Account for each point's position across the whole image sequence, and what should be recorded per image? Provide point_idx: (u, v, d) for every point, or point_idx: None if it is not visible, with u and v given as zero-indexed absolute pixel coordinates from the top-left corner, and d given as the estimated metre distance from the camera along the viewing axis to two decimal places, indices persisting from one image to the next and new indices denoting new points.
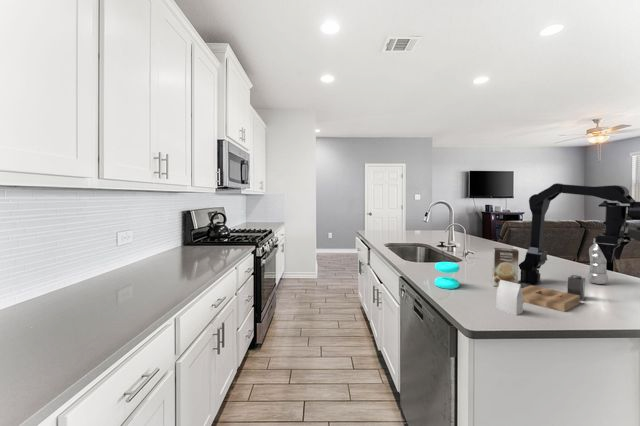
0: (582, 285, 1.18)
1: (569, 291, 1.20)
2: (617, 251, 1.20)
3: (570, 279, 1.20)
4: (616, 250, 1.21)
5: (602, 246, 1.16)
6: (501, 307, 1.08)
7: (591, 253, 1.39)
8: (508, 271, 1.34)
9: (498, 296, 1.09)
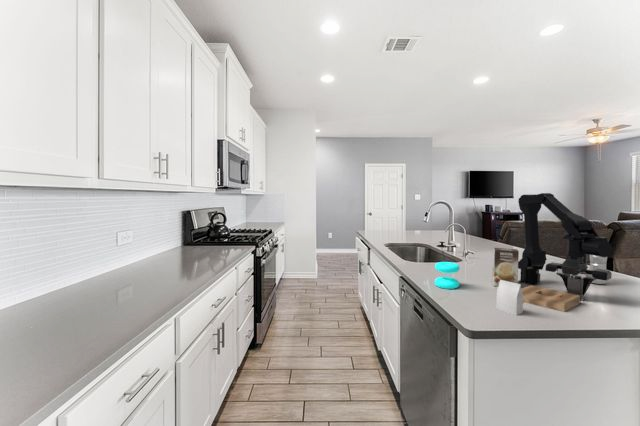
0: (582, 285, 1.18)
1: (569, 291, 1.20)
2: None
3: (570, 279, 1.20)
4: None
5: None
6: (501, 307, 1.08)
7: None
8: (508, 271, 1.34)
9: (498, 296, 1.09)
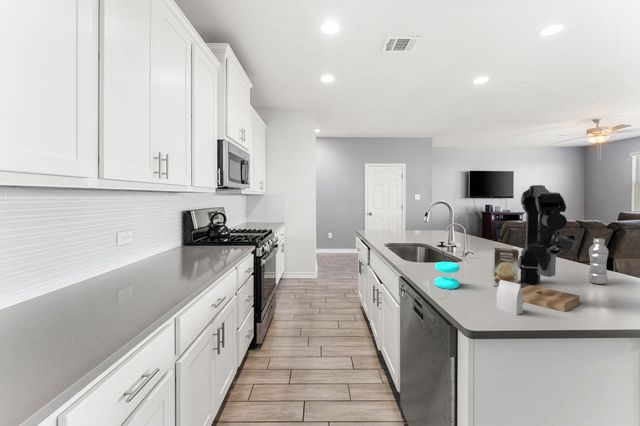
0: None
1: (551, 269, 1.14)
2: None
3: (552, 256, 1.14)
4: None
5: (537, 254, 1.15)
6: (501, 307, 1.08)
7: (591, 253, 1.39)
8: (508, 271, 1.34)
9: (498, 296, 1.09)
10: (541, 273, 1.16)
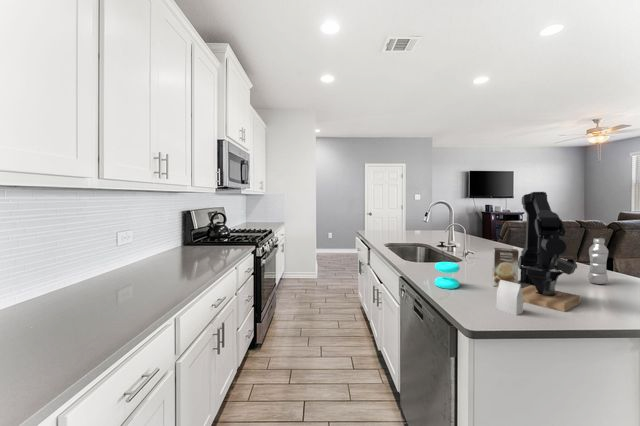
0: None
1: None
2: None
3: (551, 283, 1.14)
4: None
5: (533, 278, 1.14)
6: (501, 307, 1.08)
7: (591, 253, 1.39)
8: (508, 271, 1.34)
9: (498, 296, 1.09)
10: None
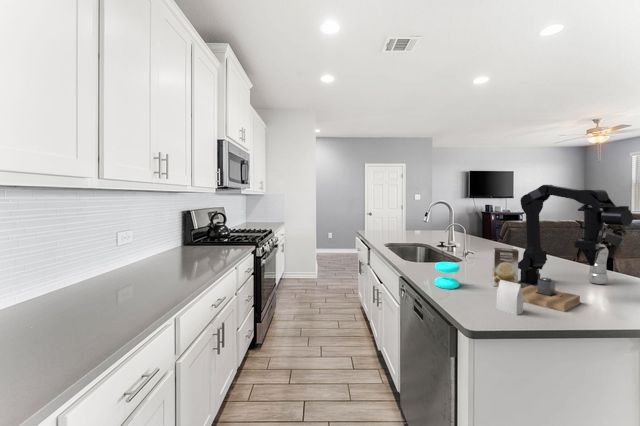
0: None
1: None
2: None
3: (551, 283, 1.14)
4: None
5: (585, 250, 1.17)
6: (501, 307, 1.08)
7: None
8: (508, 271, 1.34)
9: (498, 296, 1.09)
10: None
